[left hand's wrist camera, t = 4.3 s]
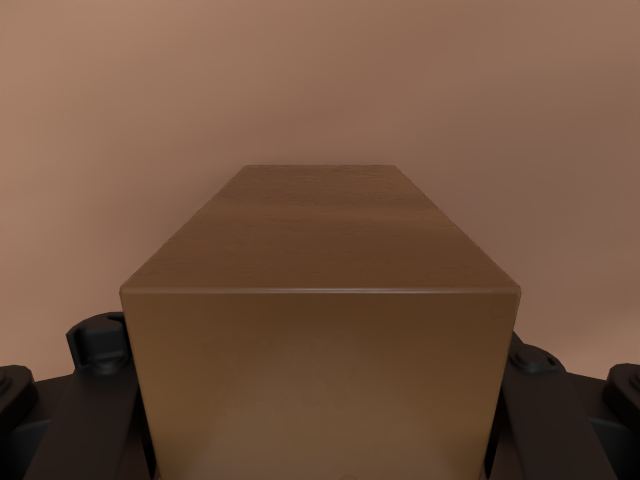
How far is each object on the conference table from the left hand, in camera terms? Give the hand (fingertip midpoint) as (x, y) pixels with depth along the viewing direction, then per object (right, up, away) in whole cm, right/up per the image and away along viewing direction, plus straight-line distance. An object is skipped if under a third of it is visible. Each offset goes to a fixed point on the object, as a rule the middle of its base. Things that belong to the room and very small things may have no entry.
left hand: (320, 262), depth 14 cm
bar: (0, -7, +3) cm, 8 cm away
